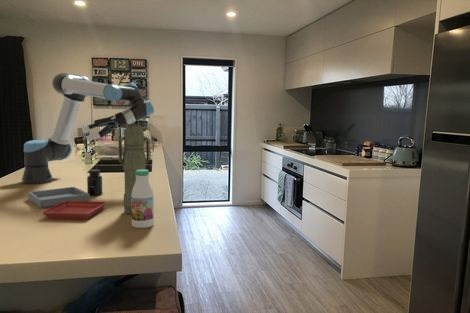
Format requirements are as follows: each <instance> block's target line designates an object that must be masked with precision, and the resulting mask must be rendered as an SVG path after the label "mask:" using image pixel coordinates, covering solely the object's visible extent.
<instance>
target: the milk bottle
mask: <svg viewBox="0 0 470 313" xmlns="http://www.w3.org/2000/svg"><path fill="white" fill-rule="evenodd" d="M135 174H136V182H135V185H134V187H133V189H132V194H131V212H132V215H131V225H132V228H135V229H146V228H151V227H154V224H155V200H154V199H155V197H154V190H153V187H152V185H151V183H150V180H149V176H150V171H149V169H141V170H136V171H135Z"/></svg>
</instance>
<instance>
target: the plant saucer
mask: <svg viewBox="0 0 470 313" xmlns="http://www.w3.org/2000/svg"><path fill="white" fill-rule="evenodd" d="M106 205H107V201H95V200H94V201H92V200H91V201H64V202H62V203H60V204H58V205H55V206H53V207H50V208H46V209H45V210H42V211H41V213H42V215H44V216H45V217H46V218H48V219H49V218H50V220H52V219H53V220H59V219H60V220H88V219H89V218H91V217H92V216H94V215H95V214H97V213H98V212H101V211H102V209H103V208H105V206H106Z"/></svg>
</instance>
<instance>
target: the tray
mask: <svg viewBox="0 0 470 313" xmlns="http://www.w3.org/2000/svg"><path fill="white" fill-rule="evenodd" d="M27 194H28V195H27V197H28V201H30V202H31V203H32V204H33V203H34V204H33V205H35V206H36V207H37V206H38V207H37V208H38V209H40V210H41V208H43V209H49V208H48V207H50V208H51V207H53V206H55V205H58V204H60V203H62V202H64V201H90V197H91V196H89V193H87V192H86V191H85V190H82V189H80V188H78V187H76V186H68V187H60V188H52V189H44V190H43V189H42V190H36V191H35V190H34V191H29V192H28V193H27Z"/></svg>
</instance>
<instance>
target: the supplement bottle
mask: <svg viewBox="0 0 470 313" xmlns="http://www.w3.org/2000/svg"><path fill="white" fill-rule="evenodd" d="M88 172H89V175H88V176H87V178H86V186H87V188H86V189H87V190H86V191H87V193H89V196H90V197H91V196H92V197H98V196H102V195H103V176H102V175H101V169H89V171H88Z"/></svg>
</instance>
